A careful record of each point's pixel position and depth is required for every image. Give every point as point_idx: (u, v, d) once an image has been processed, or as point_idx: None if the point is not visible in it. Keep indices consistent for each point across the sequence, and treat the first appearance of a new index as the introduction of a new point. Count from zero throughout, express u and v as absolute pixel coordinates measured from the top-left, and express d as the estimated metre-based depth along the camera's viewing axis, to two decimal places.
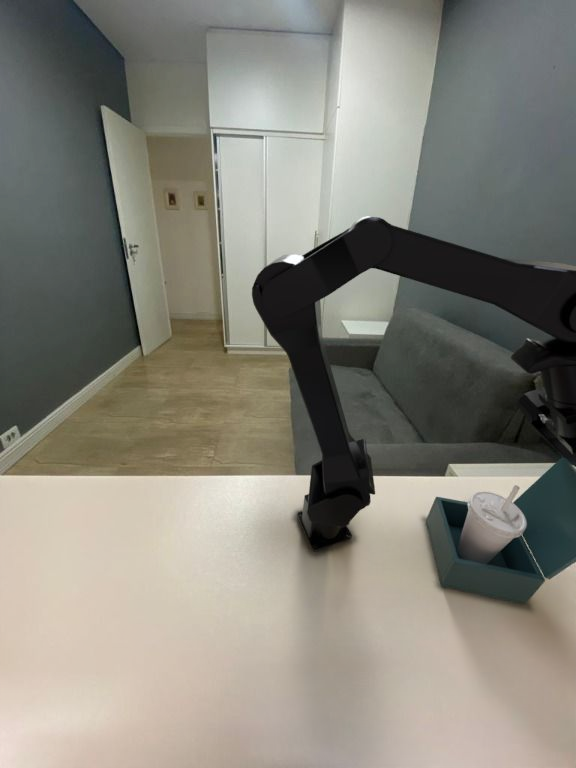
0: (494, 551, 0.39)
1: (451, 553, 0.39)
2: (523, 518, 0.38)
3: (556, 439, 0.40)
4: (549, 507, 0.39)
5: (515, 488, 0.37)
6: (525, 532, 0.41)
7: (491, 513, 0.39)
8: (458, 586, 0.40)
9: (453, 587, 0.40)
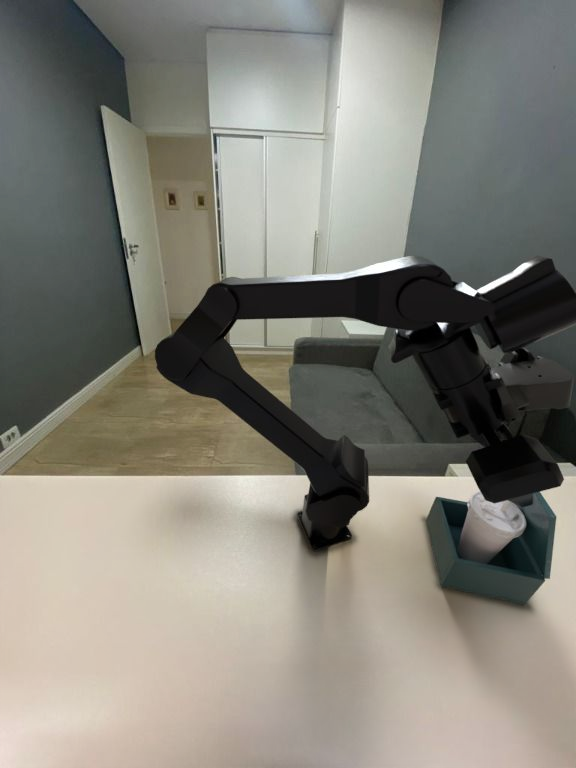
0: (494, 551, 0.39)
1: (451, 553, 0.39)
2: (523, 518, 0.38)
3: None
4: None
5: None
6: None
7: (491, 513, 0.39)
8: (458, 586, 0.40)
9: (453, 587, 0.40)
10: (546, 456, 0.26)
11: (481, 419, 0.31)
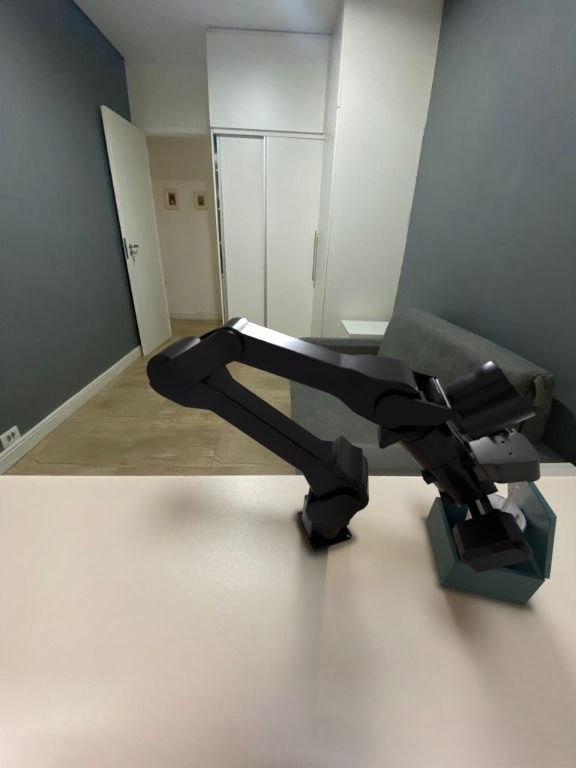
0: None
1: (451, 553, 0.39)
2: (523, 518, 0.38)
3: None
4: (521, 504, 0.39)
5: (515, 488, 0.37)
6: None
7: None
8: (458, 586, 0.40)
9: (453, 587, 0.40)
10: (515, 533, 0.30)
11: (463, 492, 0.35)
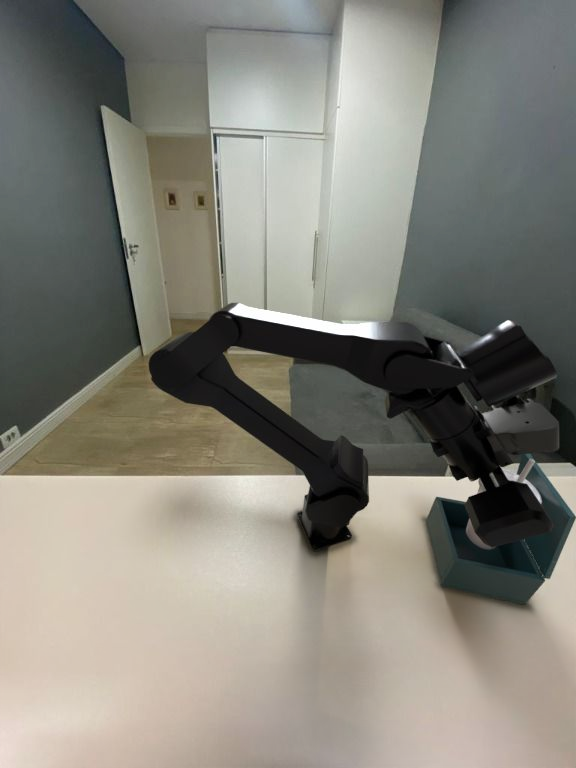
0: None
1: (451, 553, 0.39)
2: (538, 494, 0.36)
3: None
4: None
5: (530, 462, 0.35)
6: None
7: None
8: (458, 586, 0.40)
9: (453, 587, 0.40)
10: (535, 504, 0.28)
11: (476, 464, 0.33)
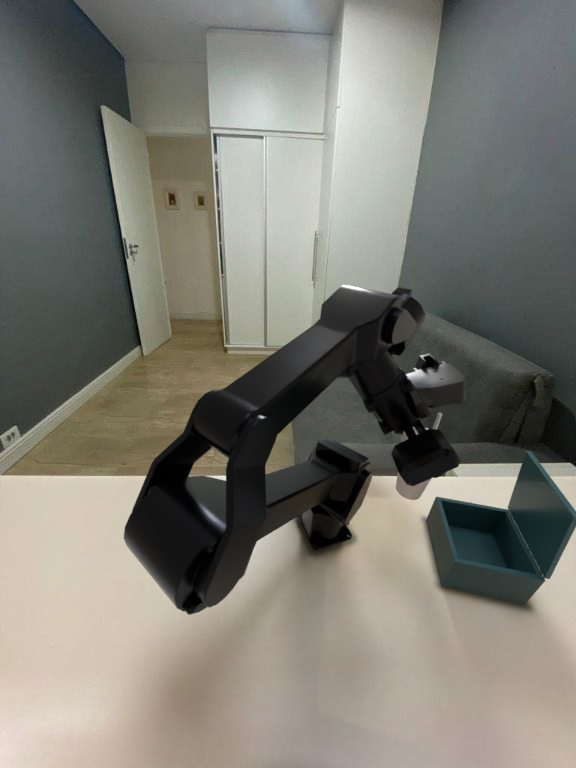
0: None
1: (451, 553, 0.39)
2: None
3: None
4: (530, 504, 0.39)
5: (439, 414, 0.40)
6: (523, 532, 0.41)
7: None
8: (458, 586, 0.40)
9: (453, 587, 0.40)
10: (446, 444, 0.32)
11: (401, 417, 0.37)
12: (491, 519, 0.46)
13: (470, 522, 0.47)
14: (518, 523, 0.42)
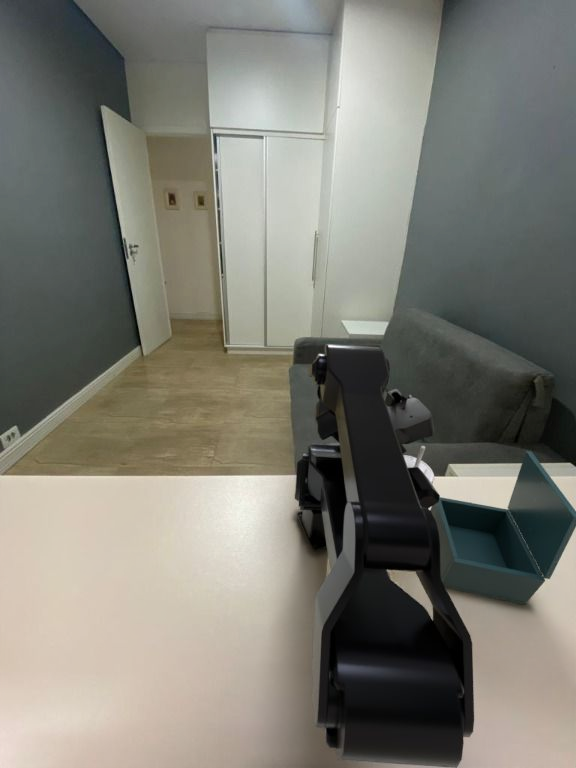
0: None
1: (451, 553, 0.39)
2: (431, 471, 0.45)
3: None
4: (530, 504, 0.39)
5: (422, 448, 0.43)
6: (523, 532, 0.41)
7: None
8: (458, 586, 0.40)
9: (453, 587, 0.40)
10: (425, 483, 0.35)
11: None
12: (491, 519, 0.46)
13: (470, 522, 0.47)
14: (518, 523, 0.42)
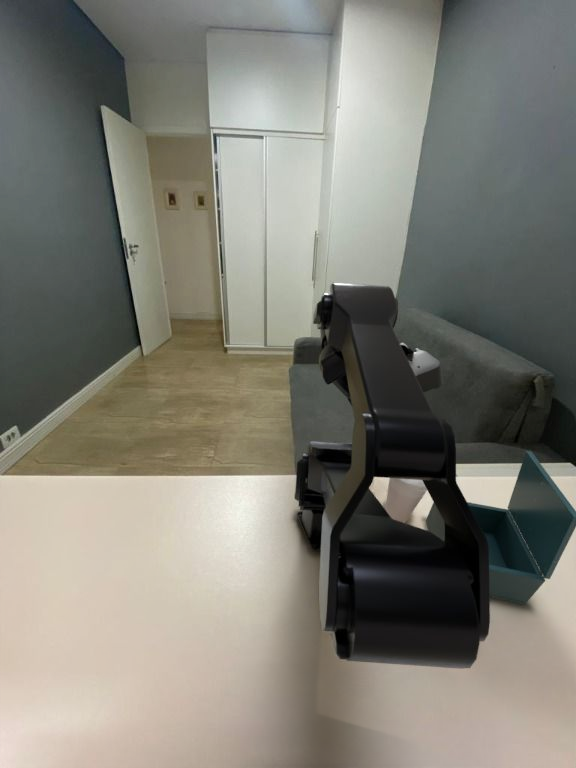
0: (414, 505, 0.46)
1: None
2: None
3: None
4: (530, 504, 0.39)
5: None
6: (523, 532, 0.41)
7: None
8: None
9: None
10: None
11: None
12: (491, 519, 0.46)
13: None
14: (518, 523, 0.42)
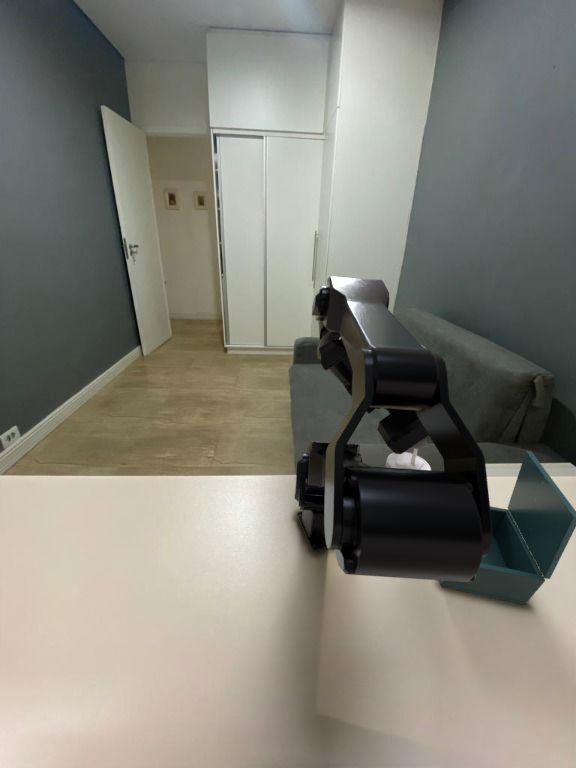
0: None
1: None
2: (427, 465, 0.46)
3: None
4: (530, 504, 0.39)
5: None
6: (523, 532, 0.41)
7: (405, 467, 0.45)
8: (458, 586, 0.40)
9: (453, 587, 0.40)
10: None
11: None
12: (491, 519, 0.46)
13: None
14: (518, 523, 0.42)
